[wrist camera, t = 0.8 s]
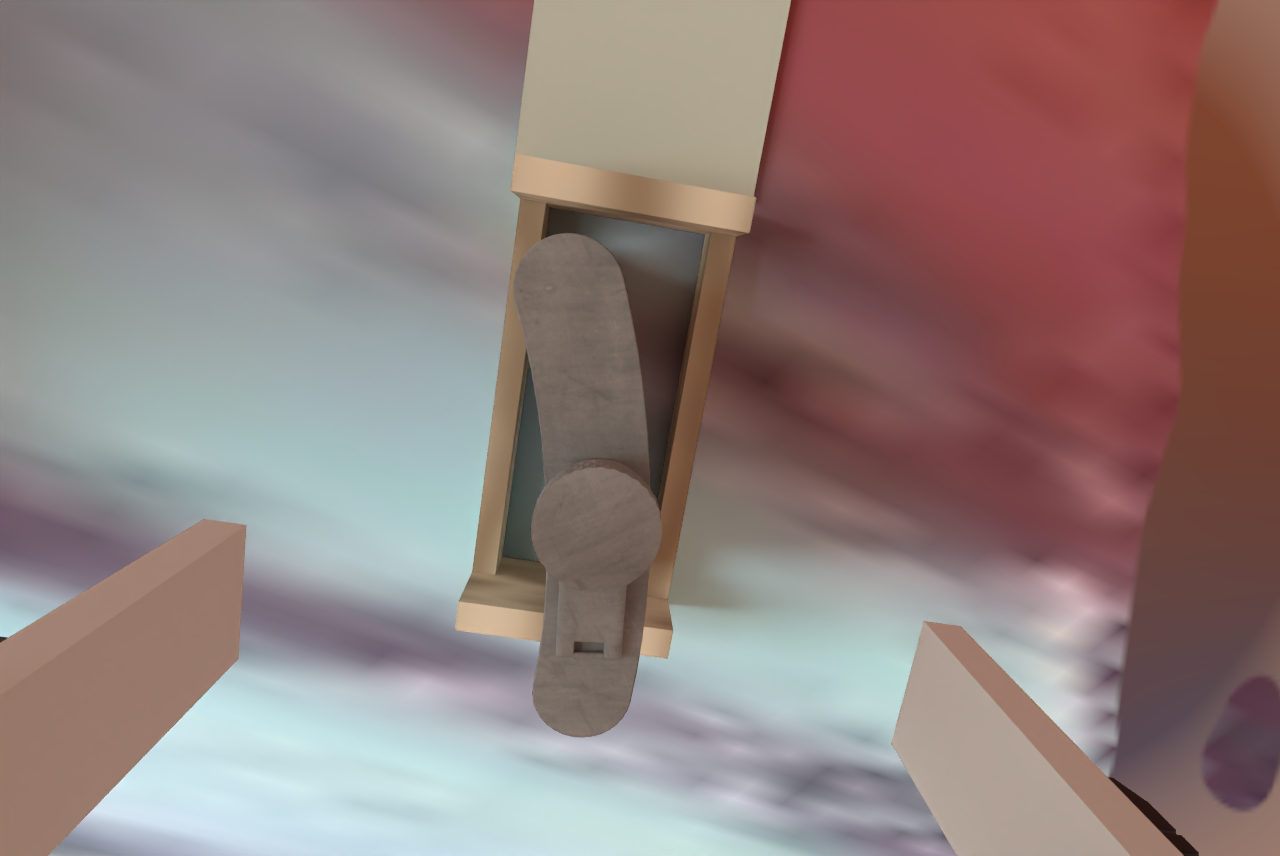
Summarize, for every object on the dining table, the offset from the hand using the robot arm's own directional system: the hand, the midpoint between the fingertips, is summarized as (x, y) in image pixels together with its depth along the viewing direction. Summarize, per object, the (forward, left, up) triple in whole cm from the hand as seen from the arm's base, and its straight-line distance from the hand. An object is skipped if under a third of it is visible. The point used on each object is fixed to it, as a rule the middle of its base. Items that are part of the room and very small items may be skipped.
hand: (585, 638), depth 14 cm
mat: (0, +19, -26) cm, 32 cm away
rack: (0, 0, -26) cm, 26 cm away
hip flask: (0, 0, -26) cm, 26 cm away
